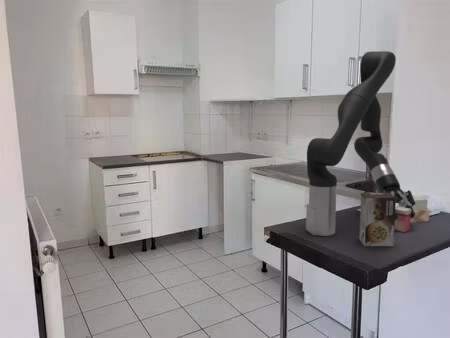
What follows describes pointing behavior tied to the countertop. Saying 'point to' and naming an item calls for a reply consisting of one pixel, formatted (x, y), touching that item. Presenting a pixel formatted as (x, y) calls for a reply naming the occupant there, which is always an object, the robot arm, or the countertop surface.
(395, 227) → the small box
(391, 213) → the cookie box
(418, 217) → the oak base block
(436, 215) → the countertop surface
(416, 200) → the sage top block
